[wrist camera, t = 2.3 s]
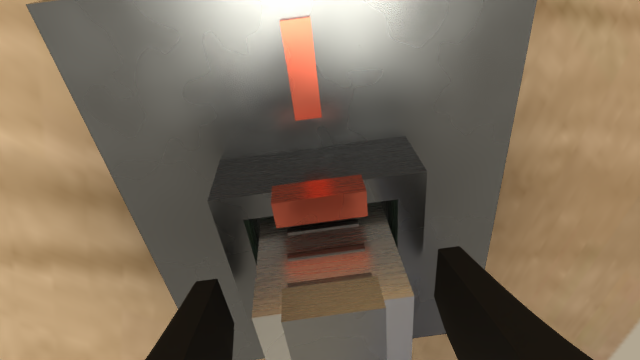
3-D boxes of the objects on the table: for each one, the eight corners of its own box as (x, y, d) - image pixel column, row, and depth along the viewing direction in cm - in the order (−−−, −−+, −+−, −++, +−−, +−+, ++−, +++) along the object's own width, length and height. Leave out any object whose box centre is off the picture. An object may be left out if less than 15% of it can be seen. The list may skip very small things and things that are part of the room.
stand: (466, 316, 18) (503, 393, 15) (209, 350, 18) (193, 436, 15) (531, -65, 10) (650, -68, 7) (43, 0, 10) (-76, 27, 6)
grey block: (377, 267, 15) (421, 428, 10) (282, 280, 15) (280, 447, 10) (373, 154, 12) (433, 301, 7) (256, 169, 12) (233, 328, 7)
